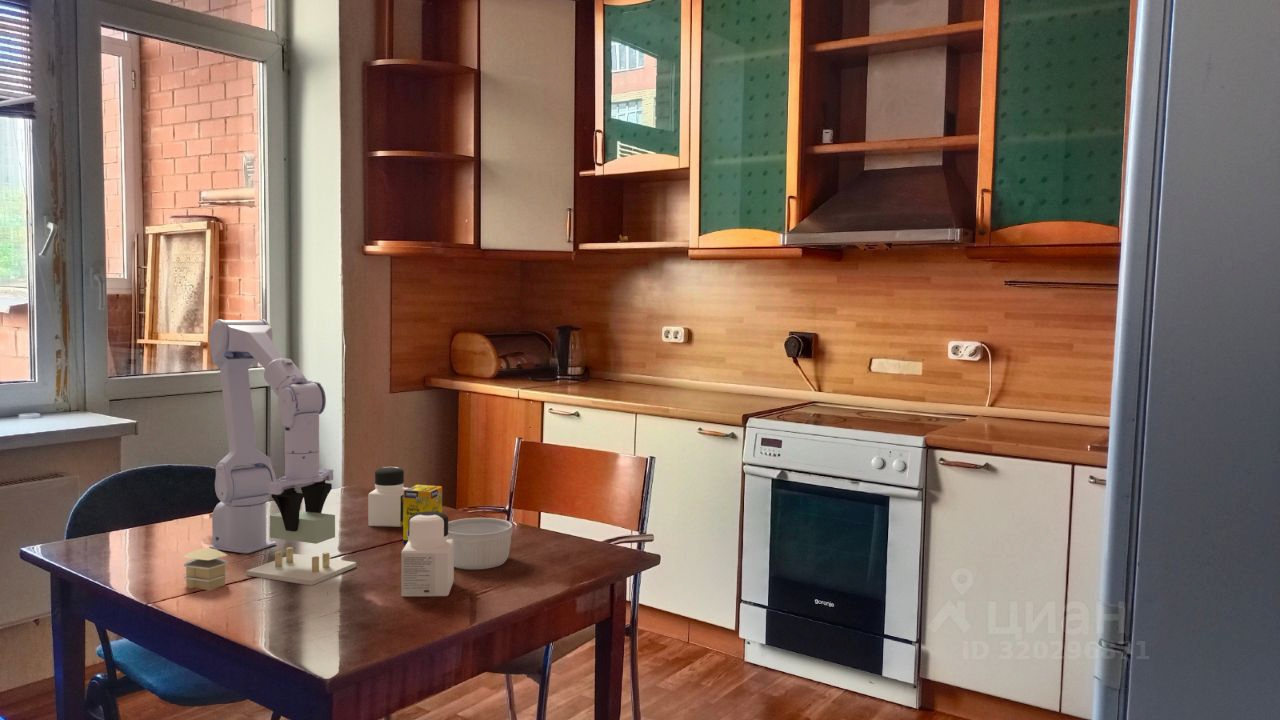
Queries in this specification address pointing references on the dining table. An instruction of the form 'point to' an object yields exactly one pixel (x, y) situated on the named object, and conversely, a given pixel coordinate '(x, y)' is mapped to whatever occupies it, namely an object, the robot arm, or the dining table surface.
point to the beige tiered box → (205, 569)
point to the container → (427, 556)
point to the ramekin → (480, 542)
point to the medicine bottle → (387, 498)
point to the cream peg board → (301, 568)
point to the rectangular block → (305, 527)
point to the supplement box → (420, 503)
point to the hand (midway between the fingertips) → (302, 527)
